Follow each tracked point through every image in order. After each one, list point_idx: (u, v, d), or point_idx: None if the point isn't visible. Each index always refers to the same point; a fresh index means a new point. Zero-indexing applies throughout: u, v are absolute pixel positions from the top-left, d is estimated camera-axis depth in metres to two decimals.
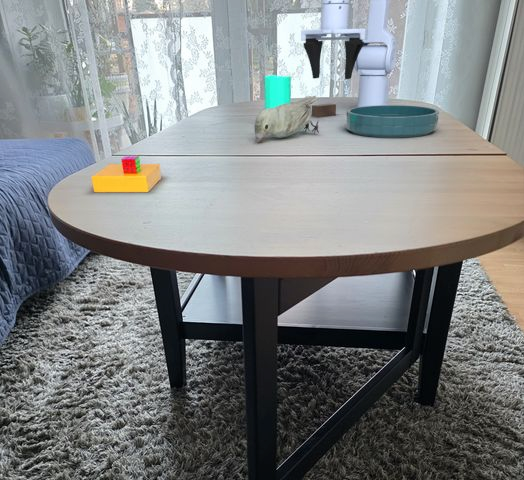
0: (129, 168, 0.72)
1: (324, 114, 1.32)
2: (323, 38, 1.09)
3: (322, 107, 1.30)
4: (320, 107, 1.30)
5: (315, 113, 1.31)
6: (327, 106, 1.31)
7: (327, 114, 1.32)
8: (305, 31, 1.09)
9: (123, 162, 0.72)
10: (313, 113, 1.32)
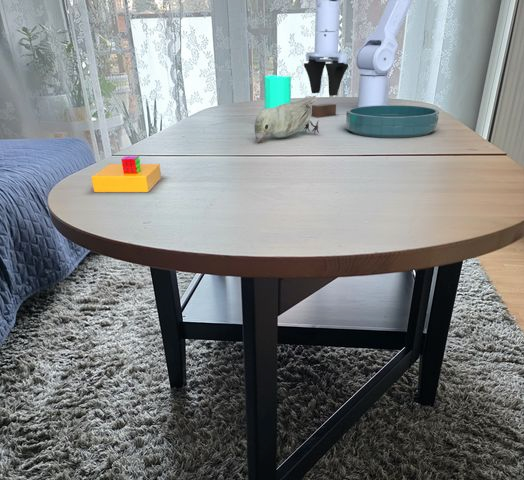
0: (129, 168, 0.72)
1: (324, 114, 1.32)
2: (320, 60, 1.28)
3: (322, 107, 1.30)
4: (320, 107, 1.30)
5: (315, 113, 1.31)
6: (327, 106, 1.31)
7: (327, 114, 1.32)
8: (308, 53, 1.30)
9: (123, 162, 0.72)
10: (313, 113, 1.32)
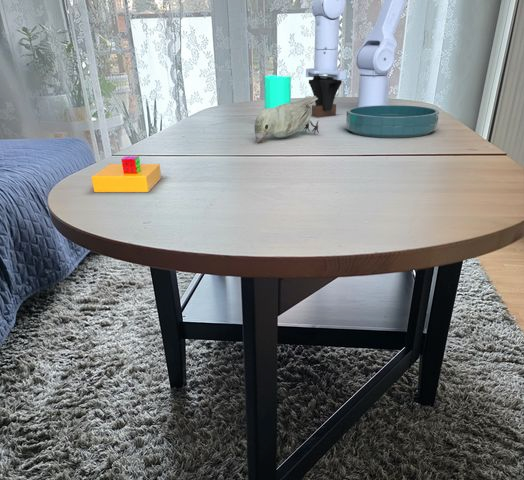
0: (129, 168, 0.72)
1: (324, 114, 1.32)
2: (319, 76, 1.30)
3: (322, 107, 1.30)
4: (320, 107, 1.30)
5: (315, 113, 1.31)
6: None
7: (327, 114, 1.32)
8: (307, 70, 1.32)
9: (123, 162, 0.72)
10: (313, 113, 1.32)
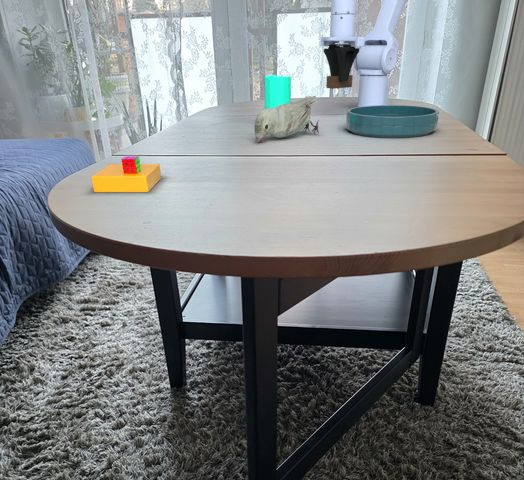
0: (129, 168, 0.72)
1: (340, 85, 1.23)
2: (335, 44, 1.22)
3: (338, 78, 1.22)
4: (336, 78, 1.22)
5: (331, 84, 1.23)
6: None
7: (343, 86, 1.24)
8: (322, 38, 1.23)
9: (123, 162, 0.72)
10: (327, 85, 1.24)
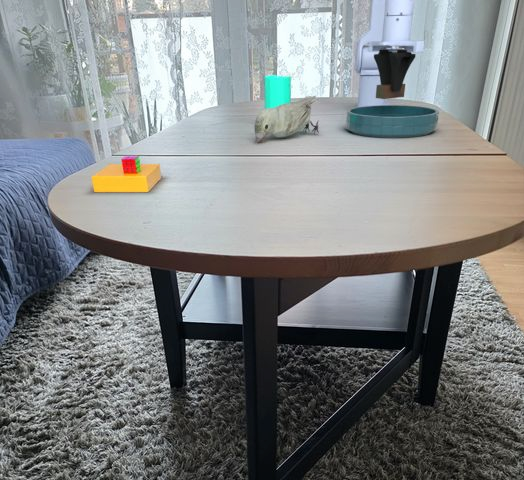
0: (129, 168, 0.72)
1: (391, 95, 1.10)
2: (387, 49, 1.08)
3: (390, 87, 1.09)
4: (387, 87, 1.08)
5: (381, 94, 1.09)
6: None
7: (395, 95, 1.10)
8: (372, 42, 1.10)
9: (123, 162, 0.72)
10: (377, 95, 1.10)
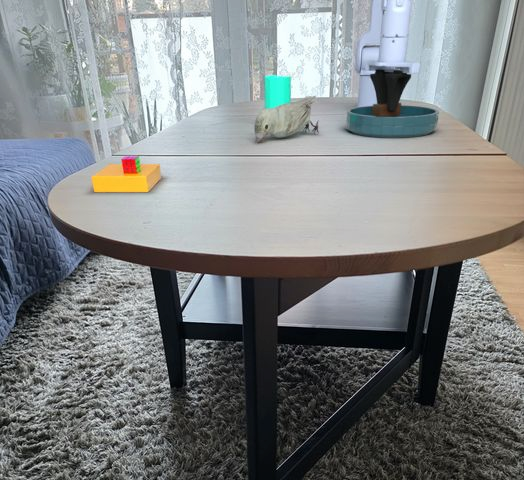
0: (129, 168, 0.72)
1: (387, 114, 1.11)
2: (383, 69, 1.09)
3: (386, 106, 1.10)
4: (384, 106, 1.10)
5: (378, 113, 1.10)
6: None
7: (391, 114, 1.12)
8: (368, 62, 1.11)
9: (123, 162, 0.72)
10: (374, 114, 1.11)
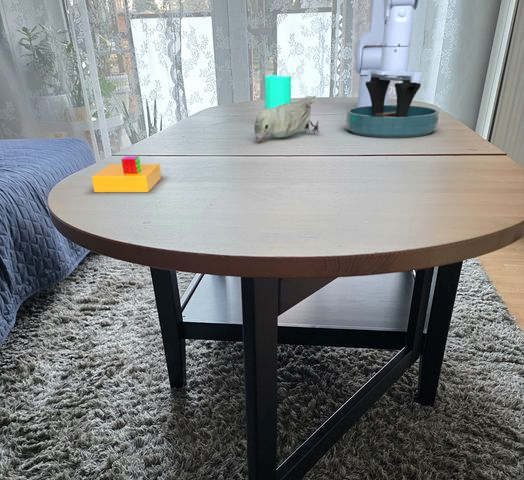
0: (129, 168, 0.72)
1: None
2: (385, 78, 1.11)
3: (388, 115, 1.11)
4: (385, 115, 1.11)
5: None
6: (393, 114, 1.12)
7: None
8: (370, 70, 1.13)
9: (123, 162, 0.72)
10: None
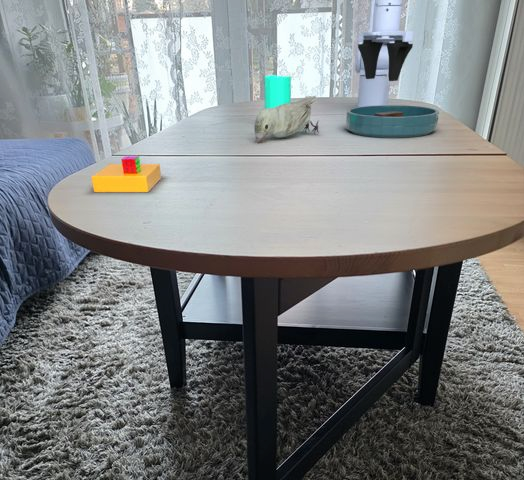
0: (129, 168, 0.72)
1: None
2: (377, 40, 1.11)
3: (388, 115, 1.11)
4: (385, 115, 1.11)
5: None
6: (393, 114, 1.12)
7: None
8: (363, 33, 1.12)
9: (123, 162, 0.72)
10: None
